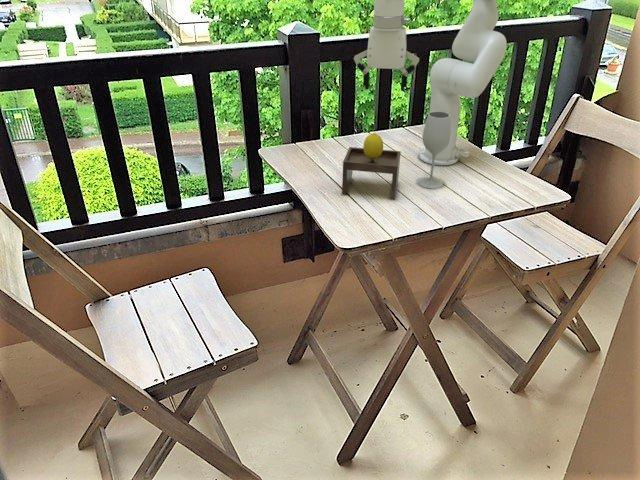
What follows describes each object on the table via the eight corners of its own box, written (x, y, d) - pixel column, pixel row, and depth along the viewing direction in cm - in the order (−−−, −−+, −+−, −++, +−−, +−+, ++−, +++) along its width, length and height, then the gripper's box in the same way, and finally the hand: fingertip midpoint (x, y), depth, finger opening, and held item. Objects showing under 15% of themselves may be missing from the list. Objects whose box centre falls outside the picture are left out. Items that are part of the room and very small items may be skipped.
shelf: (397, 183, 157) (400, 151, 152) (394, 199, 148) (397, 166, 143) (348, 178, 160) (349, 146, 155) (342, 194, 151) (343, 161, 145)
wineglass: (444, 180, 159) (454, 112, 148) (441, 190, 153) (451, 120, 142) (420, 176, 162) (427, 109, 150) (415, 186, 155) (423, 117, 144)
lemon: (381, 164, 147) (383, 137, 142) (361, 163, 148) (362, 135, 143) (383, 157, 151) (385, 130, 147) (364, 155, 152) (365, 129, 148)
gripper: (422, 20, 137) (417, 86, 146) (356, 19, 140) (355, 83, 149) (421, 26, 131) (416, 94, 140) (352, 24, 134) (351, 91, 143)
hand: (384, 88), depth 144 cm, fingers open, 9 cm apart
